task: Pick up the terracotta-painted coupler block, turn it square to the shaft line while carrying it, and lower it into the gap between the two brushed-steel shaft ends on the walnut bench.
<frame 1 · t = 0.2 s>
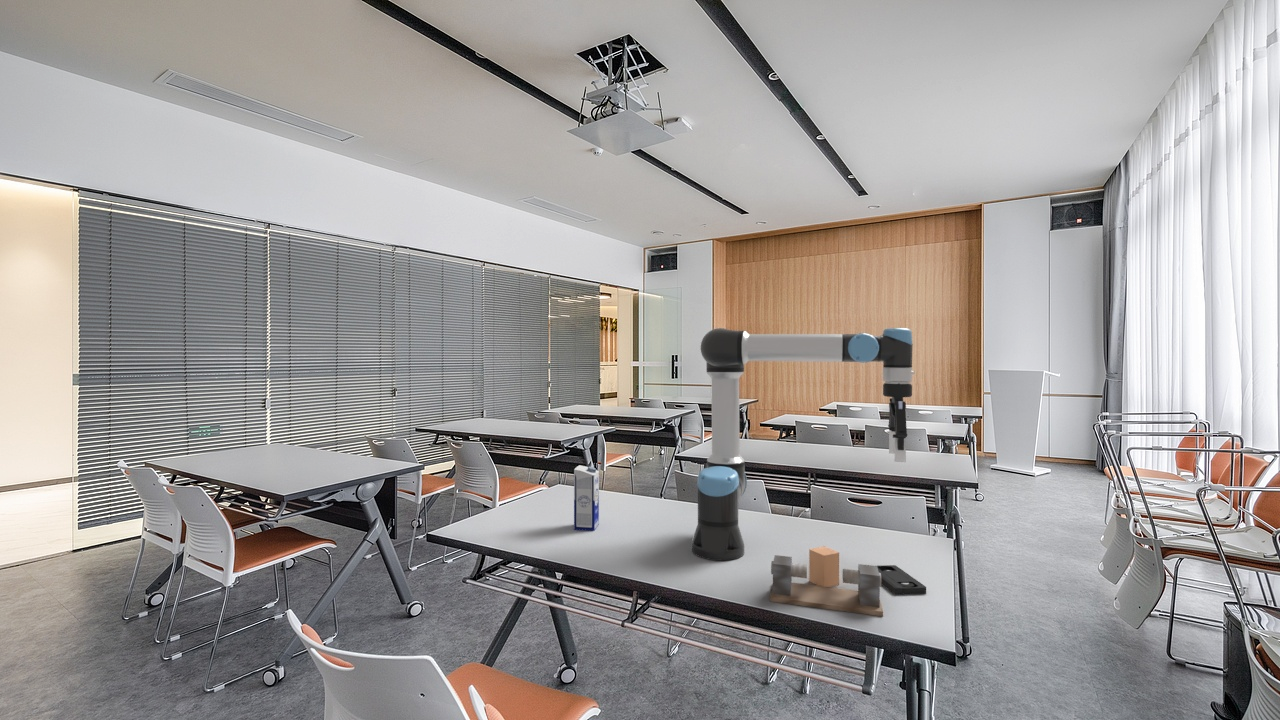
hand: (897, 457, 158), 28 cm above the table, fingers open, 13 cm apart
vhs tape: (895, 584, 139), on the table
coupler block: (824, 582, 138), on the table
milk carton: (586, 527, 183), on the table
shaft bench: (824, 599, 129), on the table
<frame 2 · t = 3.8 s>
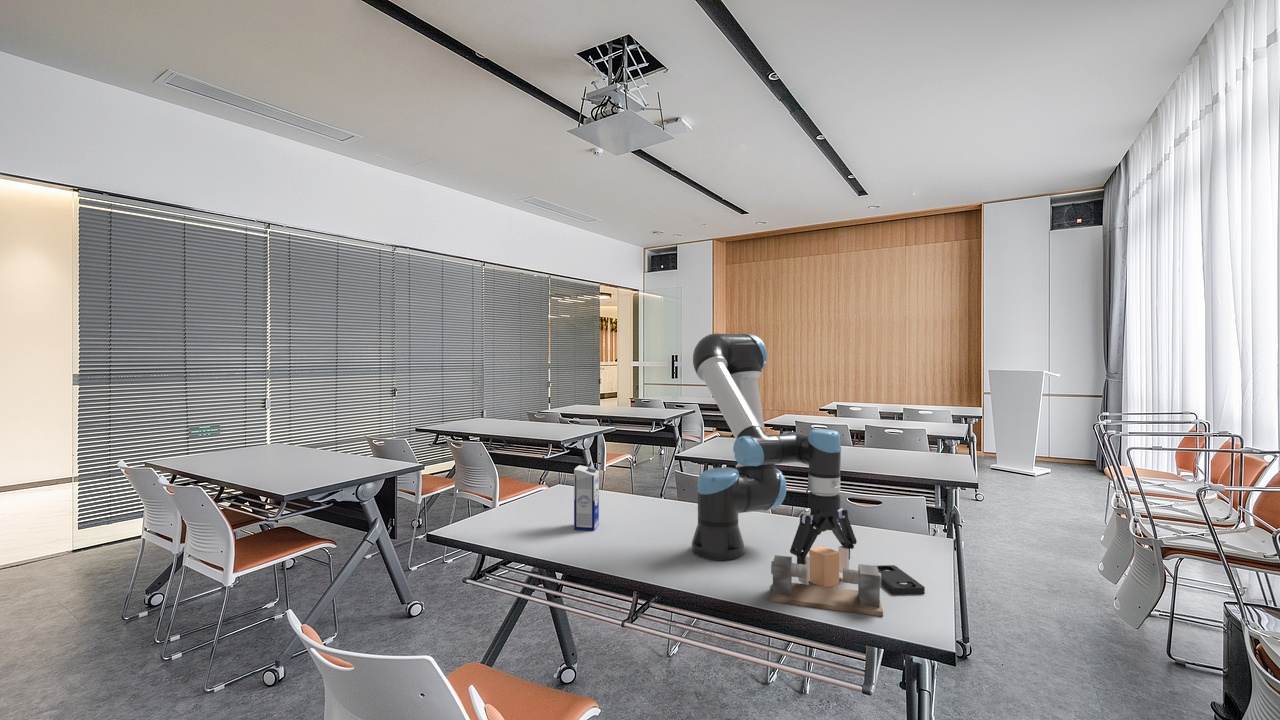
hand: (824, 577, 138), 1 cm above the table, fingers open, 13 cm apart
nothing on the table moved.
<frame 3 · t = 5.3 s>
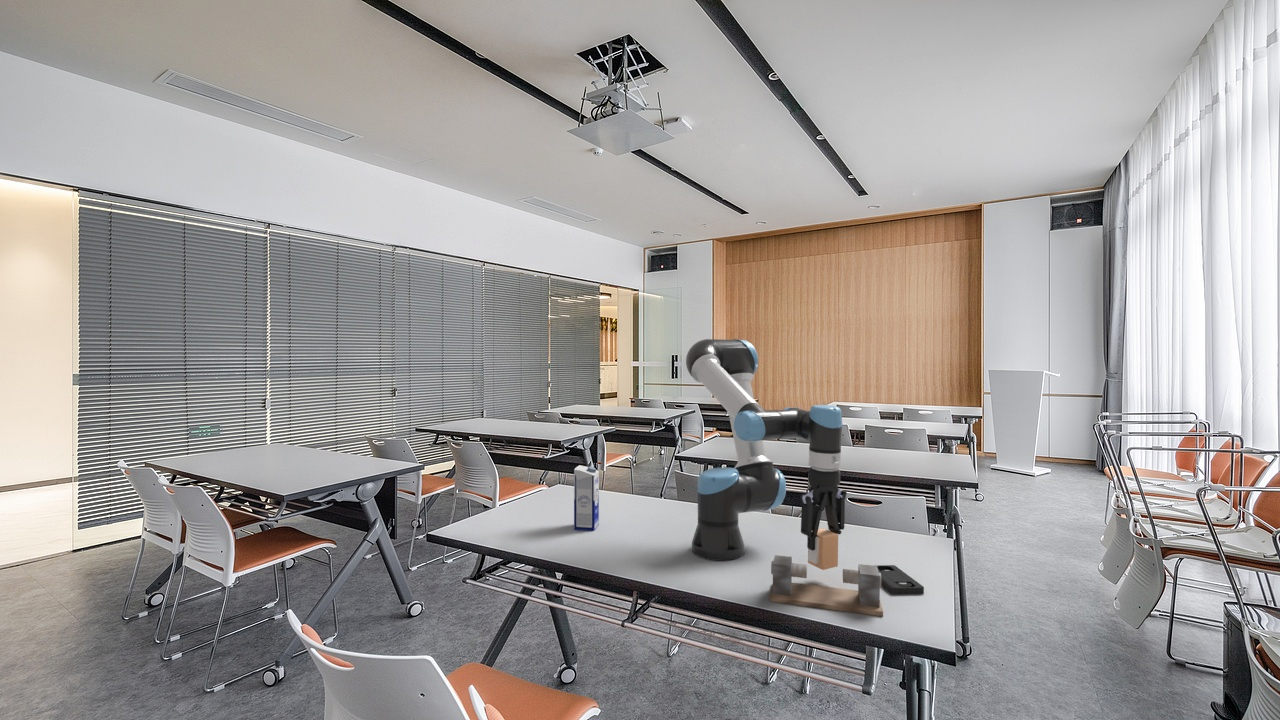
hand: (822, 559, 139), 5 cm above the table, fingers closed on coupler block, 5 cm apart
coupler block: (822, 564, 139), point 4 cm above the table, touching gripper
everything else where it was.
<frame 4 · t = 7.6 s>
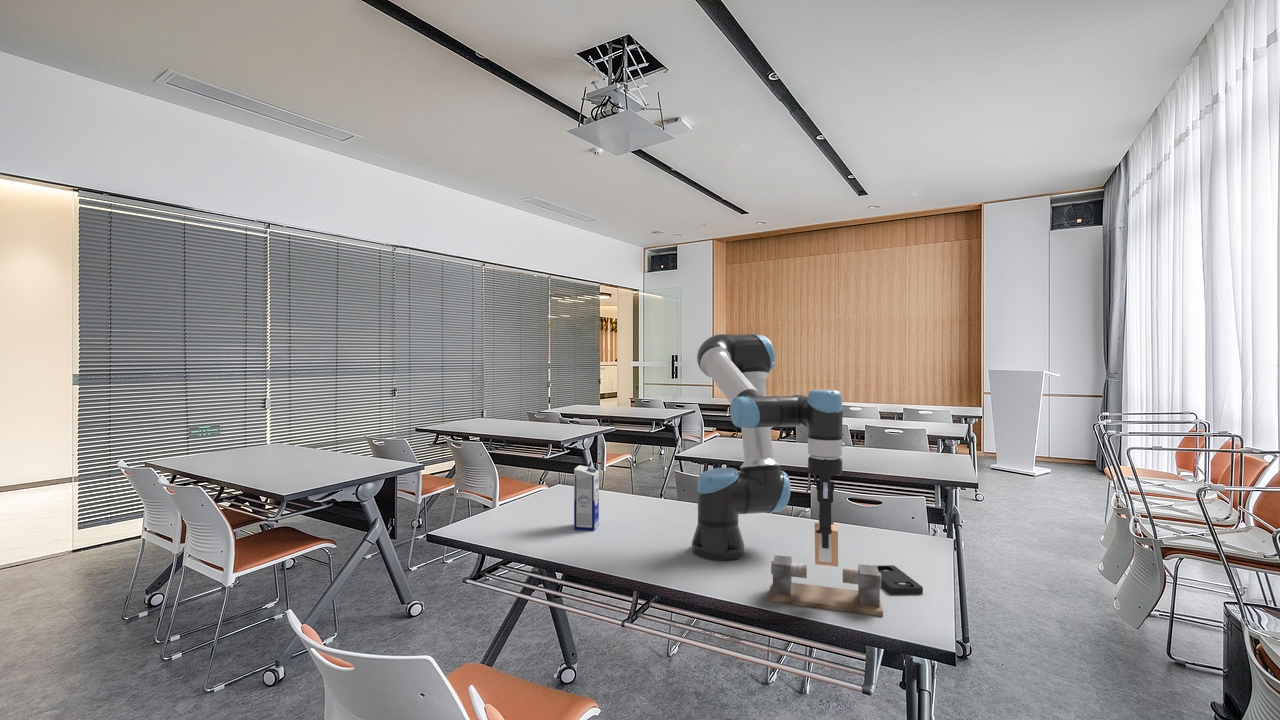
hand: (825, 556, 129), 10 cm above the table, fingers closed on coupler block, 5 cm apart
coupler block: (826, 561, 129), point 9 cm above the table, touching gripper
everything else where it was.
when the fingers open (2 cm above the table, at t = 9.6 s): coupler block stays where it is, resting on shaft bench.
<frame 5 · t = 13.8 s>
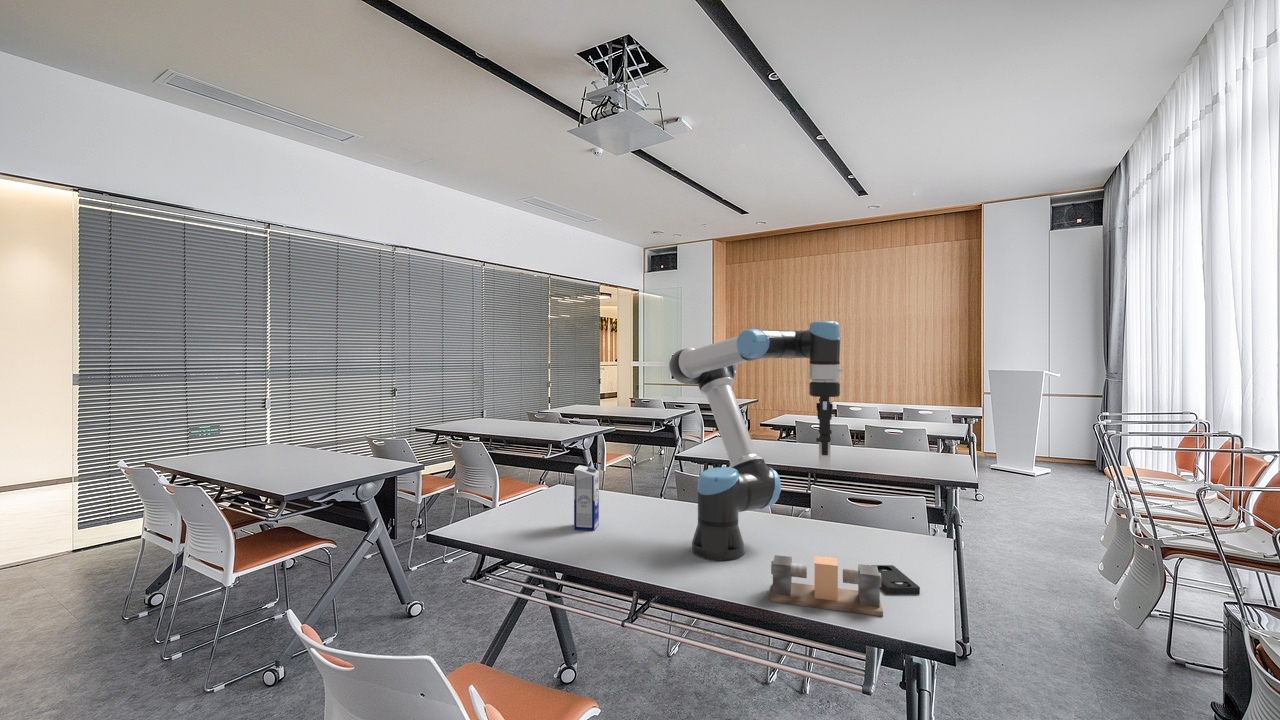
hand: (824, 463, 144), 29 cm above the table, fingers open, 13 cm apart
coupler block: (825, 595, 129), point 1 cm above the table, touching shaft bench
at the end: coupler block 0.3 cm off-centre on the shaft bench, point 1.0 cm above the shaft bench's base; coupler block tilted 0°; the gripper is holding nothing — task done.
